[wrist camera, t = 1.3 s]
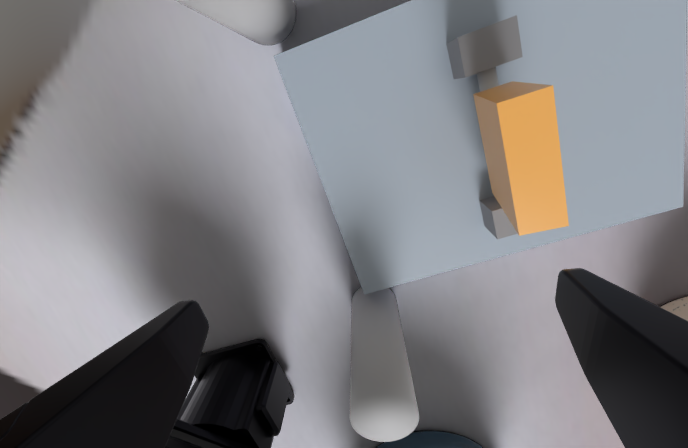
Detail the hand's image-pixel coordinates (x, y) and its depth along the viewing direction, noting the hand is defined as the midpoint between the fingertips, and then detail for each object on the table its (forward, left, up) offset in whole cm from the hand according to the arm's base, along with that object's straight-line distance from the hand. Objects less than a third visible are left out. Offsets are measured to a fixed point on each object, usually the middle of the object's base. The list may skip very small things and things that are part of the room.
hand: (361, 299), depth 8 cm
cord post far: (-2, -9, -13) cm, 16 cm away
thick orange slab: (+7, 0, -10) cm, 12 cm away
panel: (+7, 0, -13) cm, 15 cm away
